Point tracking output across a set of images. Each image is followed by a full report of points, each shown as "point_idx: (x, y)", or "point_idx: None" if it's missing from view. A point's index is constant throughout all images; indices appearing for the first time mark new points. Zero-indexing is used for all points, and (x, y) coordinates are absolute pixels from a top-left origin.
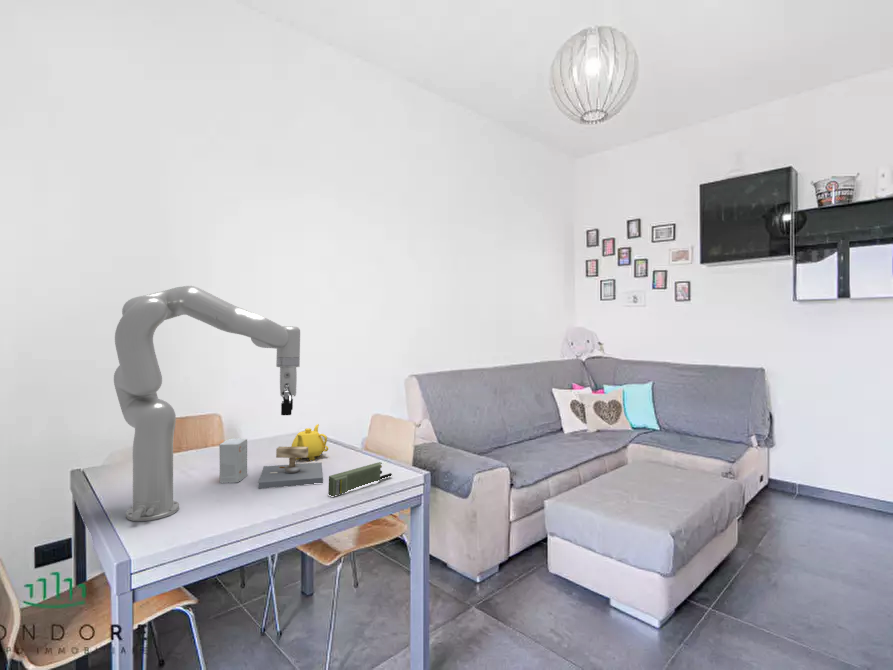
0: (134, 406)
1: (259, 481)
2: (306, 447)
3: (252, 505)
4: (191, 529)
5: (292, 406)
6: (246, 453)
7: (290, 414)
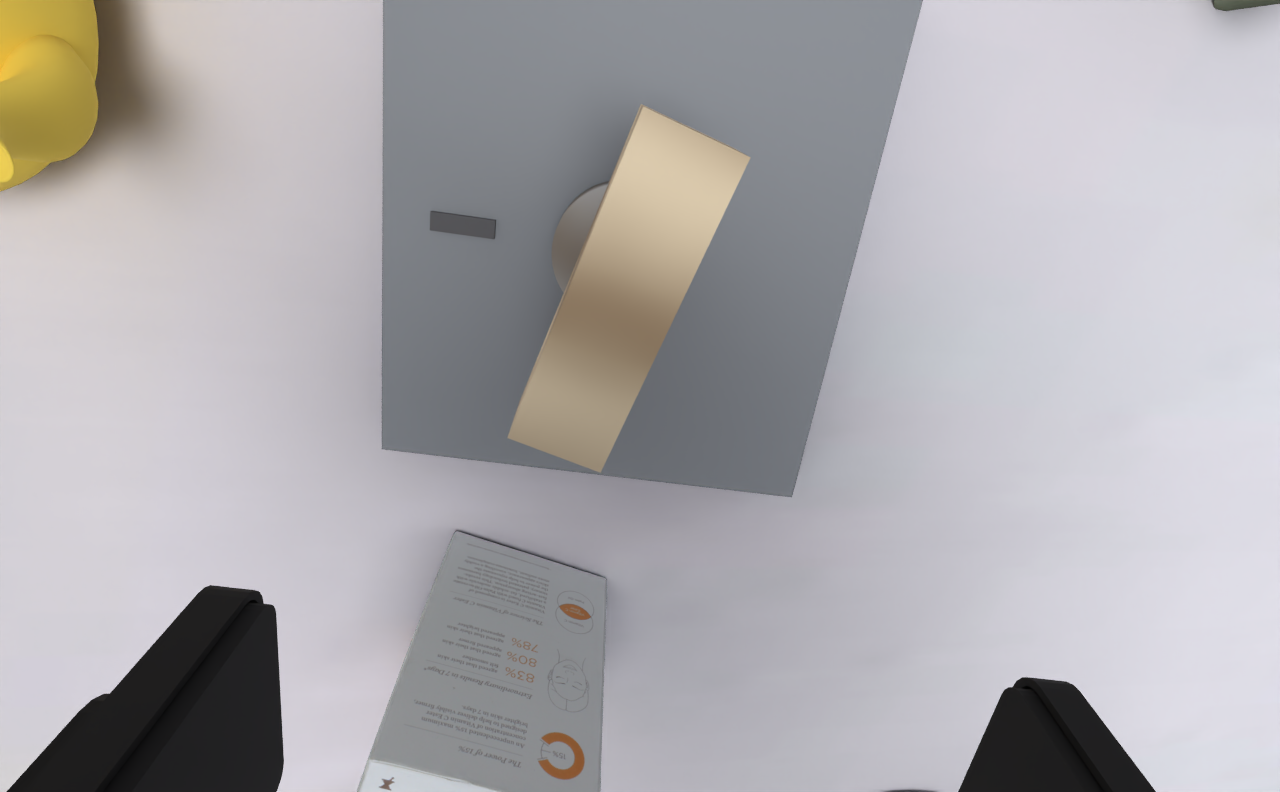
0: None
1: (768, 490)
2: (671, 135)
3: (1065, 512)
4: (1198, 732)
5: (194, 658)
6: (433, 653)
7: (1062, 696)
